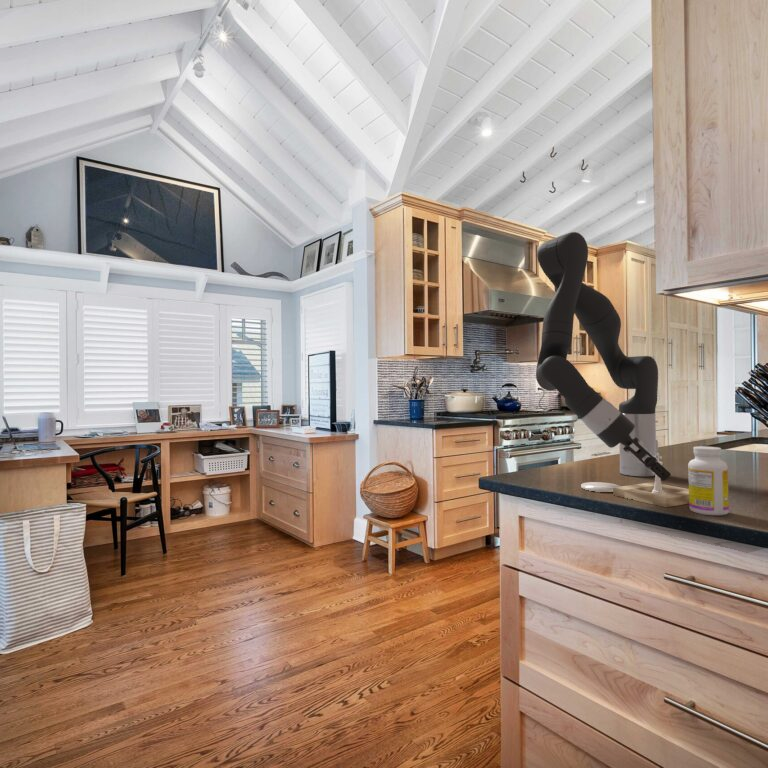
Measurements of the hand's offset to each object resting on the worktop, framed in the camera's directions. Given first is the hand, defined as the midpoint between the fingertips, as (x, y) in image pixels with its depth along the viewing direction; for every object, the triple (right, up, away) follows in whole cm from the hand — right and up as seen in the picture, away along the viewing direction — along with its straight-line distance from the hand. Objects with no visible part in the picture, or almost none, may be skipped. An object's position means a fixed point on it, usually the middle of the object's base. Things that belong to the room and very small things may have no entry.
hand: (663, 474), depth 113 cm
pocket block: (-1, -5, 0) cm, 5 cm away
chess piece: (-1, -6, 0) cm, 6 cm away
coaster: (-9, -5, +11) cm, 15 cm away
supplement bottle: (+2, -5, -13) cm, 14 cm away
